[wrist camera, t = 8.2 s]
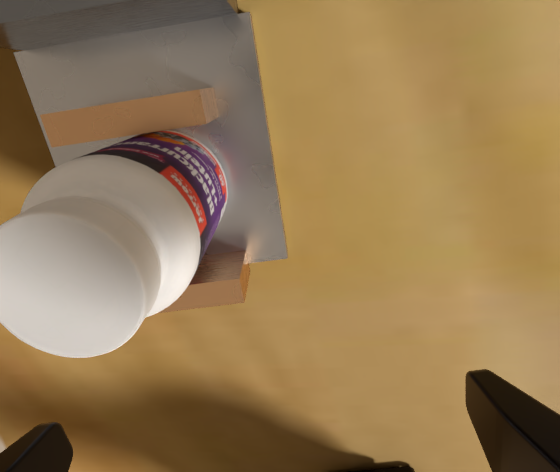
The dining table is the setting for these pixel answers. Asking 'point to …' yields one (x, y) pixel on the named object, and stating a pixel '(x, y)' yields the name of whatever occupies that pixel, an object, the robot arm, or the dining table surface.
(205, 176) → the pill bottle
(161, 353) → the dining table surface
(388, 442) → the dining table surface
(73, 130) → the grey block with slats
